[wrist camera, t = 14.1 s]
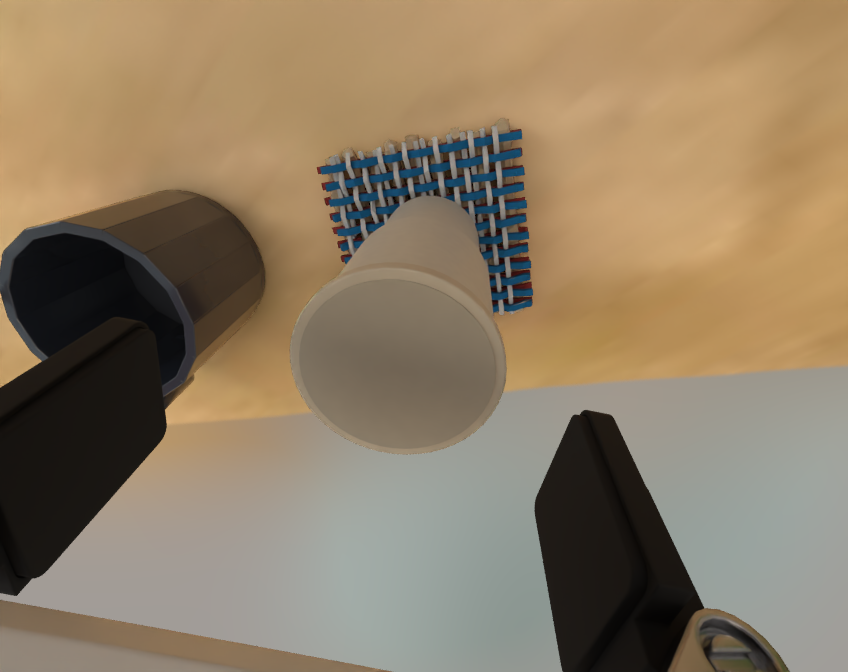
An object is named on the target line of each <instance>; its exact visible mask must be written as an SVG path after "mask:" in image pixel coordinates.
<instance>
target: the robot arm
mask: <svg viewBox="0 0 848 672" xmlns="http://www.w3.org/2000/svg"><path fill="white" fill-rule="evenodd" d="M166 427H167V423H166V415H165V407H164V399H163V391H162V383H161V375H160V367H159V359H158V351H157V343H156V336H155V334H154V332H153V331H151V330H149V327H148V326H147V324H146V323H144V322H141V321H136V320H131V319H125V318H120V317H114V318H111V319H109V320H108V321H106V322H104V323H103V324H101V325H100V326H98V327H96V328H95V329H93V330H92V331H90V332H88V333H87V334H85V335H84V336H82V337H81V338H79V339H77V340H76V341H74V342H73V343H71V344H69V345H68V346H66V347H65V348H63V349H61V350H60V351H58V352H57V353H55V354H53V355H52V356H50V357H49V358H47V359H45V360H44V361H42V362H41V363H39V364H38V365H36V366H34V367H33V368H31V369H30V370H28V371H26V372H25V373H23V374H22V375H20V376H18V377H17V378H15V379H14V380H12V381H10V382H9V383H7V384H6V385H4V386H2V387H1V388H0V593H3V594H8V595H14V596H17V595H18V594H19V593H20V591H21V590H22V589H23V588H24V587H25V586H26V585H27V584H28V583H29V581H30V580H31V579H32V578H37V577H40V576H41V575H43V574H44V573H45V572H46V571H47V570H48V569H49V568H50V567H51V566H52V565H53V563H54V562H55V561H56V560H57V559H58V558H59V557H60V556H61V554H62V553H63V552H64V551H65V550H66V549H67V548H68V546H69V545H70V544H71V543H72V542H73V541H74V540H75V538H76V537H77V536H78V535H79V534H80V533H81V532H82V530H83V529H84V528H85V527H86V526H87V525H88V524H89V522H90V521H91V520H92V519H93V518H94V517H95V516H96V515H97V513H98V512H99V511H100V510H101V509H102V508H103V507H104V505H105V504H106V503H107V502H108V501H109V500H110V499H111V497H112V496H113V495H114V494H115V493H116V492H117V490H118V489H119V488H120V487H121V486H122V485H123V484H124V483H125V481H126V480H127V479H128V478H129V477H130V476H131V475H132V473H133V472H134V471H135V470H136V469H137V468H138V467H139V465H140V464H141V463H142V462H143V461H144V460H145V459H146V457H147V456H148V455H149V454H150V453H151V452H152V451H153V450H154V448H155V447H156V446H157V445H158V444H159V443H160V441H161V440H162V439H163V437H164V435H165V432H166ZM535 517H536V523H537V529H538V534H539V541H540V546H541V552H542V558H543V563H544V569H545V574H546V581H547V587H548V592H549V598H550V604H551V610H552V615H553V621H554V627H555V633H556V639H557V644H558V650H559V656H560V662H561V666H562V671H563V672H790V671H789V670H788V668H787V667H786V665H785V664H784V662H783V660H782V659H781V657H780V655H779V654H778V653H777V652H776V651H775V649H774V648H773V647H772V646H771V645H770V644H769V642H768V641H767V640H766V639H765V638H764V637H763V636H762V635H760V634H759V633H758V632H757V631H756V630H755V629H753V628H752V627H751V626H750V625H748V624H747V623H745V622H744V621H742V620H740V619H739V618H737V617H736V616H734V615H731V614H729V613H726V612H724V611H721V610H718V609H708V608H704V606H703V604H702V602H701V600H700V598H699V596H698V594H697V592H696V590H695V587H694V586H693V583H692V581H691V579H690V577H689V575H688V573H687V570H686V568H685V566H684V564H683V562H682V560H681V558H680V556H679V554H678V552H677V549H676V547H675V545H674V543H673V541H672V539H671V537H670V535H669V533H668V530H667V528H666V526H665V524H664V522H663V520H662V518H661V516H660V513H659V511H658V509H657V507H656V505H655V503H654V501H653V499H652V497H651V494H650V493H649V490H648V489H647V487H646V486H645V484H644V482H643V479H642V477H641V475H640V473H639V471H638V469H637V467H636V464H635V462H634V461H633V458H632V456H631V454H630V452H629V450H628V447H627V445H626V443H625V441H624V439H623V437H622V435H621V433H620V431H619V428H618V426H617V424H616V422H615V420H614V418H613V417H612V416H611V415H609V414H604V413H599V412H594V411H589V410H584V411H583V412H581V414H580V415H573V416H572V418H571V420H570V422H569V424H568V427H567V429H566V431H565V434H564V436H563V438H562V440H561V443H560V445H559V447H558V449H557V451H556V454H555V456H554V458H553V460H552V463H551V465H550V467H549V470H548V472H547V474H546V477H545V479H544V481H543V483H542V486H541V488H540V490H539V493H538V494H537V497H536V500H535ZM0 672H391V671H386V670H380V669H375V668H370V667H365V666H360V665H354V664H349V663H344V662H338V661H332V660H327V659H322V658H317V657H311V656H306V655H300V654H295V653H290V652H284V651H279V650H273V649H268V648H263V647H258V646H252V645H247V644H241V643H235V642H230V641H225V640H219V639H214V638H208V637H203V636H198V635H192V634H187V633H181V632H176V631H171V630H165V629H159V628H154V627H148V626H143V625H137V624H132V623H126V622H121V621H115V620H109V619H104V618H98V617H93V616H87V615H81V614H76V613H70V612H64V611H59V610H53V609H48V608H42V607H37V606H31V605H26V604H20V603H15V602H8V601H3V600H0Z"/></svg>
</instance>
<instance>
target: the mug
mask: <svg viewBox="0 0 848 672" xmlns="http://www.w3.org/2000/svg"><path fill="white" fill-rule="evenodd" d="M264 285H265V273H264V267H263V262H262V258H261V255H260V252H259V250H258V248H257V246H256V243H255V242H254V240H253V238H252V237H251V235H250V234H249V232H248V231H247V230H246V228H245V227H244V226H243V225H242V223H241V222H240V221H239V220H238V219H237V218H236V217H235V216H234V215H232V214H231V213H230V212H229V211H228V210H227V209H225V208H224V207H222V206H221V205H219V204H218V203H216V202H214V201H212V200H210V199H209V198H206V197H204V196H201V195H199V194H195V193H192V192H188V191H181V190H165V191H159V192H156V193H152V194H148V195H143V196H139V197H136V198H132V199H128V200H125V201H121V202H118V203H114V204H111V205H107V206H104V207H100V208H97V209H93V210H89V211H86V212H82V213H79V214H75V215H72V216H68V217H65V218H61V219H58V220H54V221H50V222H47V223H43V224H40V225H36V226H33V227H29V228H26V229H24V230H23V231H22V232H21V233H20V234H19V236H18V237H17V238H16V239H15V240H14V241H13V242H12V243H11V244H10V245H9V246H8V247H7V248H6V249H5V250H4V252H3V255H2V261H1V267H0V293H1V296H2V300H3V303H4V307H5V310H6V313H7V317H8V318H9V321H10V322H11V323H12V325H13V326H14V328H15V329H16V331H17V332H18V334H19V335H20V336H21V338H22V339H23V341H24V342H25V344H26V345H27V347H28V348H29V350H30V351H31V352H32V353H33V354H34V355H36V356H37V357H38V358H39V359H40V360H41V361H44V360H45V359H47V358H49V357H50V356H52V355H53V354H55V353H57V352H58V351H60V350H61V349H63V348H65V347H66V346H68V345H69V344H71V343H73V342H74V341H76V340H77V339H79V338H81V337H82V336H84V335H85V334H87V333H88V332H90V331H92V330H93V329H95V328H96V327H98V326H100V325H101V324H103V323H104V322H106V321H108V320H109V319H111V318H114V317H120V318H125V319H131V320H136V321H141V322H144V323H146V324H147V326H148V327H149V330H151V331H153V332H154V334H155V336H156V343H157V351H158V359H159V367H160V375H161V383H162V391H163V399H164V407H165V409H166V408H167V407H168V406H169V405H170V404H171V403H172V402H173V401H174V400H175V399H176V398H177V397H178V396H179V395H180V394H181V393H182V392H183V391H184V390H185V389H186V388H187V387H188V386H189V385H190V384H191V383H192V382H193V380H194V373H195V372H196V371H197V370H198V369H199V368H200V367H201V366H202V365H203V364H204V363H205V362H206V361H207V360H208V359H209V358H210V357H211V356H212V355H213V354H214V353H215V352H216V351H217V350H218V349H219V348H220V347H221V346H222V345H223V344H225V343H226V342H227V341H228V340H229V339H230V338H231V337H232V336H233V335H234V334H235V333H236V332H237V331H238V330H239V329H240V328H241V327H242V326H243V325H244V324H245V323H246V322H247V321H248V320H249V319H250V318H251V316H252V314H253V313H254V312H255V310H256V309H257V307H258V306H259V304H260V301H261V299H262V296H263V292H264Z"/></svg>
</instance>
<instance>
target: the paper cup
mask: <svg viewBox="0 0 848 672" xmlns="http://www.w3.org/2000/svg"><path fill="white" fill-rule="evenodd" d="M290 363H291V369H292V374H293V377H294V380H295V383H296V386H297V388H298V390H299V392H300V394H301V396H302V398H303V399H304V401H305V402H306V404H307V406H308V407H309V408H310V409H311V411H312V412H313V413H314V414H315V415H316V416H317V417H318V418H319V419H320V420H321V421H322V422H323V423H324V424H325V425H326V426H328V427H329V428H330V429H331V430H333V431H334V432H335V433H337V434H339V435H341V436H342V437H344V438H345V439H347V440H349V441H351V442H353V443H356V444H358V445H360V446H363V447H366V448H369V449H372V450H376V451H380V452H386V453H392V454H421V453H428V452H433V451H437V450H441V449H444V448H447V447H449V446H452V445H454V444H456V443H458V442H460V441H462V440H464V439H466V438H467V437H468V436H470V435H471V434H472V433H474V432H476V431H477V430H478V429H479V428H480V427H481V426H482V425H483V424H484V423H485V422H486V421H487V419H488V418H489V417H490V416H491V415H492V413H493V411H494V410H495V408H496V406H497V405H498V403H499V400H500V398H501V396H502V393H503V390H504V386H505V382H506V371H507V367H506V354H505V348H504V344H503V339H502V336H501V333H500V331H499V328H498V326H497V324H496V322H495V320H494V315H493V307H492V298H491V289H490V280H489V274H488V269H487V266H486V263H485V261H484V258H483V256H482V254H481V253H480V248H479V237H478V232H477V229H476V226H475V224H474V222H473V220H472V218H471V217H470V216H469V214H468V213H467V212H466V211H465V210H464V209H463V208H462V207H461V206H459V205H458V204H456V203H455V202H453V201H451V200H449V199H446V198H443V197H439V196H421V197H417V198H413V199H411V200H409V201H407V202H405V203H404V204H402V205H401V206H399V207H398V208H397V209H396V210H395V211H394V212H393V213H392V215H391V216H390V218H389V219H388V221H387V222H386V223H385V225H383V226H381V227H380V228H378V229H377V230H375V231H374V232H373V233H372V234H370V235H369V236H368V237H367V238H366V240H365V241H364V242H363V243H362V244H361V246H360V247H359V248H358V250H357V251H356V252H355V254H354V255H353V256H352V258H351V259H350V260H349V262H348V263H347V264H346V266H345V267H344V268H343V269H342V271H341V272H340V273H339V275H338V276H337V277H335V278H333V279H332V280H330V281H329V282H328V283H326V284H325V285H324V286H323V287H321V288H320V289H319V290H318V291H317V293H316V294H315V295H314V296H313V297H312V298H311V299H310V300H309V302H308V303H307V304H306V306H305V307H304V309H303V310H302V312H301V313H300V315H299V317H298V319H297V321H296V323H295V326H294V329H293V333H292V336H291V344H290Z"/></svg>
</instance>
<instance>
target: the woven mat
mask: <svg viewBox="0 0 848 672" xmlns="http://www.w3.org/2000/svg"><path fill="white" fill-rule="evenodd" d="M491 128H492V134H491V135H487V136H486V134H485V127H483V128H481V129H480V131H476V132H473V131H472V130H470V131H467V136H468V139H466V138H465V132H460V129H459V127H457V128H453V129H451V130H450V133H449V134H448V135H446V138H447V143H443V144H442V142H441V139H437V136H435V137H432V140H431V141H429V142H428V146H425V141H424V139H423V138H421V139H419V138H418V135H409V136H407V137H405V139H406V142H402V144H401V145H402V151H398V149H397V142H395V141H393V140H390V139H389V140H387V141H386V142H385V143H384V150H385V154H382V149H381V147H378V148H376V149H377V150H372V151H370V152H367V157H368V158H365V156H364V154H363V152H362V151H358V154H359V157H360V159H357V156H356V154H355V153H354V151H353V149H352V148H347V149H344V151H343V153H342V158H343V159H344V161H345V162H342V163H341V162H340V159H339V156H338V154H336V155H333V157H329V159H326V160H325V161H326V166H321V167H317V171H318V174H321V173H322V174H328V176H329V180H330V182H325V183H321V184H322V188H323V190H326V191H327V192H328V191H331V197H328V198H324V199H325V203H326V205H330V207H333V206H334V208H335V210H336V213H331V214H330V218H331V220H333V221H334V222H339V221H341V225H342V226H341V227H334V228H332V229H333V232H334V234H338V236H344V237H345V240H342V241H338V243H337V244H338V248H341V251H346V250H348V252H349V254H347V255H342V256H341V260H342V262H345V264H347V263H348V262H349V260H350V259H351V258H352V256H353V255H354V254H355V252H356V251H357V250H358V248H359V247H360V246H361V244H362V243H363V242H364V241H365V240H366V238H367V237H368V236H369V235H370V234H372V233H373V231H375V230H377V229H378V228H380V227H381V226H383V225H385V223H386V222H387V221H388V219H389V218H390V216H391V214H392V213H393V212H394V211H395V210H396V209H397V208H398V207H399V206H401V205H402V204H404V203H405V202H407V201H409V200H408V198H407V194H410V197H411V199H413V198H417V197H421V196H428V194H429V196H434V194H433V190H434V189H436V194H437V196H439V197H443V198H446V199H449V200H451V201H453V202H456V204H458V205H459V206H461V207H462V208H463V209H464V210H465V211H466V212H467V213H468V214H469V216H470V217H471V218H472V220H473V222H474V224H475V226H476V229H477V232H478V231H479V235H478V237H479V244H480V246H481V248H480V253H481V254H482V256H483V258H484V261H485V263H486V266H487V269H488V274H489V280H490V289H491V298H492V307H493V313H494V312H497V313H498V312H500V315H504V311H507V312H510V314H514V311H516V312H520V311H523V310H524V308H525V307H530V306H532V297H523V296H531V295H533V289H532V282H528V283H523V284H522V281H527V280H530V270H522V271H521V269H528V268H531V261H529V257H520V253H522V252H528V243H527V242H525V243H519V240H524V239H529V232H528V228H527V227H518V223H523V222H526V213H521V214H516V209H522V208H527V203H526V200H525V197H521V198H515V192H518V191H522V190H524V182H517V183H514V177H513V176H521V175H525V173H524V167H523V165H520V166H513V164H512V158H517V157H521V156H522V148H515V149H511V140H518V139H522V131H521V129H518V130H512V131H510V126H509V119H503V118H501V119H499V120H498V121H497V122H496V123H495V126H491ZM419 142H420V144H419ZM406 144H407V148H406ZM490 144H493V147H494V152H493V153H488V150H487V145H490ZM420 146H421V148H420ZM467 148H469V155H470V157H468V156H467ZM444 152H449V159H450V160H443V153H444ZM427 155H429V157H430V163H428V159H427ZM408 159H409V160H408ZM422 159H423V162H422ZM401 160H403V161H404V165H405V168H403V169H402V165H401V163H400V161H401ZM409 161H410V163H409ZM490 162H495V167H496V169H489V163H490ZM384 163H386V164H387V166H388V169H389V171H386V169H385V166H384ZM410 166H411V167H410ZM368 167H370V172H371V174H370V175H368ZM469 167H471V172H472V173H470V172H469ZM360 168H362V170H363V176H361V171H360ZM449 169H451V173H452V177H446V172H445V171H446V170H449ZM345 170H347V171H348V173H349V175H350V178H347V179H344V174H343V171H345ZM430 173H432V176H433V179H434V180H431V178H430ZM412 177H413V179H412ZM404 178H407V180H408V184H406V185H405V181H404ZM425 178H426V180H425ZM391 179H392V182H393V187H390V184H389V180H391ZM496 179H497V186H492V187H491V182H490V181H493V180H496ZM413 182H414V183H413ZM370 183H373V188H374V190H372V187H371V185H370ZM471 183H473V187H474V190H472V188H471ZM364 184H365V187H366V189H367V191H366V192H365V188H364ZM351 187H352V188H353V193H352V194H348V191H347V189H346V188H351ZM448 187H454V193H450V194H449V192H448ZM427 191H428V192H427ZM414 192H415V193H416V196H415V193H414ZM392 196H395V197H396V202H394V201H393V197H392ZM497 196H498V197H499V201H496V202H493V199H492V197H497ZM386 197H387V198H388V202H386ZM473 200H475V202H476V205H474V203H473ZM368 201H370V206H368ZM351 203H355V204H356V206H357V209H352V205H351ZM499 211H500V216H499V217H494V213H496V212H499ZM390 213H391V214H390ZM475 214H477V218H475ZM371 216H372V217H373V219H374V221H372V218H371ZM355 219H360V222H361V223H359V224H356V223H355ZM378 219H379V220H378ZM496 228H501V230H498V231H496ZM358 233H361V235H362V236H360V237H357V236H356V235H357V234H358ZM501 242H503V245H502V246H497V244H499V243H501ZM498 257H501V258H498ZM505 270H506V273H500V272H503V271H505ZM501 285H507V286H503V287H501ZM507 297H508V299H505V298H507Z"/></svg>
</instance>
